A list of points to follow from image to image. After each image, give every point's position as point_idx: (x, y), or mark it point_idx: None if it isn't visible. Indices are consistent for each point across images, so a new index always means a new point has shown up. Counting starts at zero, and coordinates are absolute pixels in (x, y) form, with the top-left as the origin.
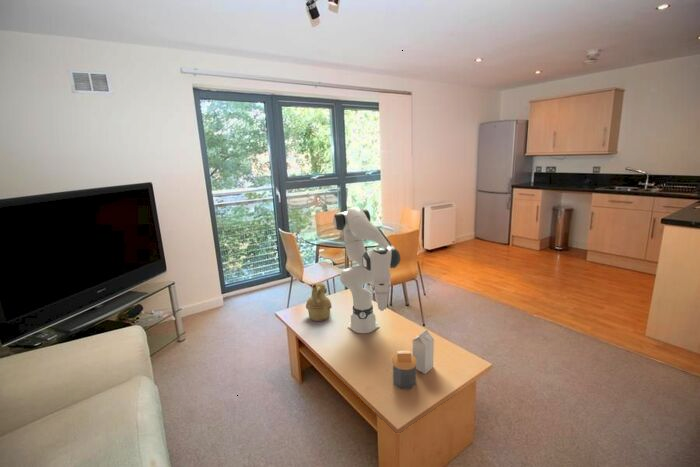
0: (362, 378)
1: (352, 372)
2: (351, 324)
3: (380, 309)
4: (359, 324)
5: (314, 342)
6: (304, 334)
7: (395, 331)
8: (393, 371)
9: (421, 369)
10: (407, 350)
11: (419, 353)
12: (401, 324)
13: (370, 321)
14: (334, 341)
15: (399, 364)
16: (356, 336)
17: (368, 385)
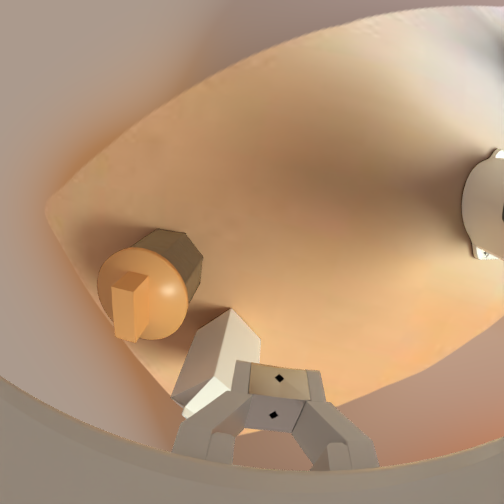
0: (201, 128)
1: (240, 97)
2: (502, 160)
3: (234, 372)
4: (491, 185)
5: (431, 17)
6: (468, 10)
7: (438, 305)
8: (155, 241)
9: (204, 329)
10: (133, 332)
11: (198, 359)
12: (458, 329)
13: (491, 233)
14: (436, 75)
15: (113, 273)
16: (454, 161)
17: (164, 146)
